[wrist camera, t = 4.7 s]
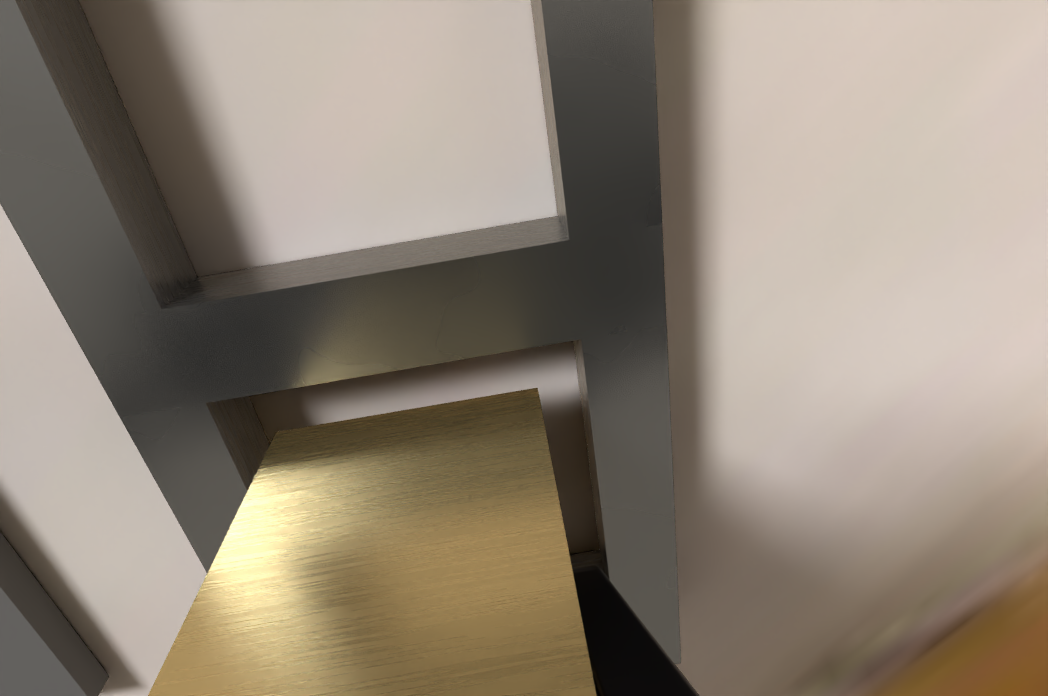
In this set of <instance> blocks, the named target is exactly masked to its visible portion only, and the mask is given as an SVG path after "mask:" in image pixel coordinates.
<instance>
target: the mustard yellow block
mask: <svg viewBox="0 0 1048 696" xmlns="http://www.w3.org/2000/svg"><path fill="white" fill-rule="evenodd" d="M148 696H597V695H596V690H595V685H594V680H593V675H592V669H591V664H590V659H589V654H588V649H587V643H586V638H585V633H584V628H583V622H582V617H581V612H580V607H579V602H578V596H577V591H576V586H575V581H574V576H573V570H572V565H571V560H570V555H569V550H568V544H567V539H566V534H565V529H564V524H563V518H562V513H561V508H560V503H559V497H558V492H557V487H556V482H555V477H554V471H553V466H552V461H551V456H550V451H549V445H548V440H547V435H546V430H545V425H544V419H543V414H542V409H541V404H540V398H539V393H538V388H533V389H527V390H521V391H515V392H509V393H503V394H497V395H492V396H486V397H480V398H474V399H468V400H462V401H456V402H450V403H444V404H438V405H432V406H427V407H421V408H415V409H409V410H403V411H397V412H391V413H385V414H379V415H373V416H367V417H362V418H356V419H350V420H344V421H338V422H332V423H326V424H320V425H314V426H308V427H302V428H297V429H291V430H285V431H279V432H276V434H275V436H274V438H273V440H272V442H271V444H270V446H269V448H268V450H267V452H266V454H265V456H264V458H263V460H262V463H261V465H260V467H259V469H258V471H257V473H256V475H255V477H254V479H253V481H252V483H251V485H250V487H249V489H248V491H247V493H246V495H245V497H244V499H243V502H242V504H241V506H240V508H239V510H238V512H237V514H236V516H235V518H234V520H233V522H232V524H231V526H230V528H229V530H228V532H227V534H226V536H225V539H224V541H223V543H222V545H221V547H220V549H219V551H218V553H217V555H216V557H215V559H214V561H213V563H212V565H211V567H210V569H209V571H208V573H207V576H206V578H205V580H204V582H203V584H202V586H201V588H200V590H199V592H198V594H197V596H196V598H195V600H194V602H193V604H192V606H191V608H190V610H189V612H188V615H187V617H186V619H185V621H184V623H183V625H182V627H181V629H180V631H179V633H178V635H177V637H176V639H175V641H174V643H173V645H172V647H171V649H170V652H169V654H168V656H167V658H166V660H165V662H164V664H163V666H162V668H161V670H160V672H159V674H158V676H157V678H156V680H155V682H154V684H153V686H152V689H151V691H150V693H149V695H148Z"/></svg>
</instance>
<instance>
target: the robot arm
mask: <svg viewBox="0 0 1048 696" xmlns="http://www.w3.org/2000/svg"><path fill="white" fill-rule="evenodd" d="M572 570H573V576H574V581H575V586H576V591H577V596H578V602H579V607H580V612H581V617H582V622H583V628H584V633H585V638H586V643H587V649H588V654H589V659H590V664H591V669H592V675H593V680H594V685H595V690H596V695H597V696H699V694H698V693H697V692H696V691H695V689H694V688H693V687H692V685H691V684H690V683H689V682H688V680H687V679H686V678H685V676H684V675H683V674H682V673H681V671H680V670H679V669H678V667H677V666H676V665H675V664H674V662H673V661H672V660H671V658H670V657H669V656H668V655H667V653H666V652H665V651H664V649H663V648H662V647H661V646H660V644H659V643H658V642H657V640H656V639H655V638H654V637H653V635H652V634H651V633H650V631H649V630H648V629H647V628H646V626H645V625H644V624H643V622H642V621H641V620H640V619H639V617H638V616H637V615H636V613H635V612H634V611H633V610H632V608H631V607H630V606H629V604H628V603H627V602H626V601H625V599H624V598H623V597H622V595H621V594H620V593H619V592H618V590H617V589H616V588H615V586H614V585H613V584H612V583H611V581H610V580H609V579H608V577H607V576H606V575H605V574H604V572H603V571H602V570H601V569H600V568H599V567H598V566H597V565H587V566H581V567H576V568H572Z"/></svg>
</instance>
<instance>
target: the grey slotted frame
mask: <svg viewBox="0 0 1048 696" xmlns="http://www.w3.org/2000/svg"><path fill="white" fill-rule="evenodd" d="M531 6H532V14H533V22H534V30H535V38H536V46H537V54H538V62H539V70H540V78H541V86H542V94H543V102H544V110H545V118H546V126H547V134H548V142H549V150H550V158H551V166H552V174H553V181H554V189H555V197H556V205H557V213H558V216H555V217H549V218H544V219H538V220H532V221H526V222H520V223H514V224H508V225H502V226H496V227H491V228H485V229H479V230H473V231H467V232H461V233H455V234H449V235H443V236H438V237H432V238H426V239H420V240H414V241H408V242H402V243H396V244H391V245H385V246H379V247H373V248H367V249H361V250H355V251H349V252H343V253H338V254H332V255H326V256H320V257H314V258H308V259H302V260H296V261H290V262H285V263H279V264H273V265H267V266H261V267H255V268H249V269H243V270H237V271H232V272H226V273H220V274H214V275H208V276H202V277H197V275H196V273H195V271H194V268H193V266H192V264H191V262H190V259H189V257H188V255H187V252H186V250H185V248H184V245H183V243H182V241H181V238H180V236H179V234H178V231H177V229H176V227H175V224H174V222H173V220H172V217H171V215H170V213H169V210H168V208H167V206H166V203H165V201H164V199H163V196H162V194H161V192H160V190H159V187H158V185H157V183H156V180H155V178H154V176H153V173H152V171H151V169H150V166H149V164H148V162H147V159H146V157H145V155H144V152H143V150H142V148H141V145H140V143H139V141H138V138H137V136H136V134H135V131H134V129H133V127H132V124H131V122H130V120H129V118H128V115H127V113H126V111H125V108H124V106H123V104H122V101H121V99H120V97H119V94H118V92H117V90H116V87H115V85H114V83H113V80H112V78H111V76H110V73H109V71H108V69H107V66H106V64H105V62H104V59H103V57H102V55H101V52H100V50H99V48H98V46H97V43H96V41H95V39H94V36H93V34H92V32H91V29H90V27H89V25H88V22H87V20H86V18H85V15H84V13H83V11H82V8H81V6H80V4H79V1H78V0H0V204H1V206H2V207H3V209H4V211H5V213H6V215H7V216H8V218H9V220H10V222H11V224H12V225H13V227H14V229H15V231H16V232H17V234H18V236H19V238H20V240H21V241H22V243H23V245H24V247H25V249H26V250H27V252H28V254H29V256H30V257H31V259H32V261H33V263H34V265H35V266H36V268H37V270H38V272H39V274H40V275H41V277H42V279H43V281H44V282H45V284H46V286H47V288H48V290H49V291H50V293H51V295H52V297H53V299H54V300H55V302H56V304H57V306H58V307H59V309H60V311H61V313H62V315H63V316H64V318H65V320H66V322H67V324H68V325H69V327H70V329H71V331H72V333H73V334H74V336H75V338H76V340H77V341H78V343H79V345H80V347H81V349H82V350H83V352H84V354H85V356H86V358H87V359H88V361H89V363H90V365H91V366H92V368H93V370H94V372H95V374H96V375H97V377H98V379H99V381H100V383H101V384H102V386H103V388H104V390H105V391H106V393H107V395H108V397H109V399H110V400H111V402H112V404H113V406H114V408H115V409H116V411H117V413H118V415H119V416H120V418H121V420H122V422H123V424H124V425H125V427H126V429H127V431H128V433H129V434H130V436H131V438H132V440H133V442H134V443H135V445H136V447H137V449H138V450H139V452H140V454H141V456H142V458H143V459H144V461H145V463H146V465H147V467H148V468H149V470H150V472H151V474H152V475H153V477H154V479H155V481H156V483H157V484H158V486H159V488H160V490H161V492H162V493H163V495H164V497H165V499H166V500H167V502H168V504H169V506H170V508H171V509H172V511H173V513H174V515H175V517H176V518H177V520H178V522H179V524H180V526H181V527H182V529H183V531H184V533H185V534H186V536H187V538H188V540H189V542H190V543H191V545H192V547H193V549H194V551H195V552H196V554H197V556H198V558H199V559H200V561H201V563H202V565H203V567H204V568H205V570H206V572H207V573H208V571H209V569H210V567H211V565H212V563H213V561H214V559H215V557H216V555H217V553H218V551H219V549H220V547H221V545H222V543H223V541H224V539H225V536H226V534H227V532H228V530H229V528H230V526H231V524H232V522H233V520H234V518H235V516H236V514H237V512H238V510H239V508H240V506H241V504H242V502H243V499H244V497H245V495H246V493H247V491H248V489H249V487H250V485H251V483H252V481H253V479H254V477H255V475H256V473H257V471H258V469H259V467H260V465H261V463H262V460H263V458H264V456H265V454H266V452H267V450H268V448H269V446H270V445H269V443H268V440H267V438H266V436H265V433H264V431H263V429H262V426H261V424H260V422H259V419H258V417H257V415H256V413H255V410H254V408H253V406H252V403H251V401H250V399H249V396H251V395H257V394H262V393H268V392H274V391H280V390H286V389H292V388H298V387H304V386H309V385H315V384H321V383H327V382H333V381H339V380H345V379H351V378H356V377H362V376H368V375H374V374H380V373H386V372H392V371H398V370H404V369H409V368H415V367H421V366H427V365H433V364H439V363H445V362H451V361H456V360H462V359H468V358H474V357H480V356H486V355H492V354H498V353H503V352H509V351H515V350H521V349H527V348H533V347H539V346H545V345H550V344H556V343H562V342H568V341H574V349H575V357H576V365H577V373H578V381H579V389H580V397H581V405H582V413H583V421H584V429H585V437H586V445H587V453H588V461H589V469H590V477H591V485H592V493H593V501H594V509H595V517H596V525H597V533H598V541H599V549H600V550H596V551H590V552H584V553H579V554H573V555H570V560H571V565H572V568H576V567H581V566H587V565H597V566H598V567H599V568H600V569H601V570H602V571H603V572H604V574H605V575H606V576H607V577H608V579H609V580H610V581H611V583H612V584H613V585H614V586H615V588H616V589H617V590H618V592H619V593H620V594H621V595H622V597H623V598H624V599H625V601H626V602H627V603H628V604H629V606H630V607H631V608H632V610H633V611H634V612H635V613H636V615H637V616H638V617H639V619H640V620H641V621H642V622H643V624H644V625H645V626H646V628H647V629H648V630H649V631H650V633H651V634H652V635H653V637H654V638H655V639H656V640H657V642H658V643H659V644H660V646H661V647H662V648H663V649H664V651H665V652H666V653H667V655H668V656H669V657H670V658H671V660H672V661H673V662H674V664H679V663H681V649H680V626H679V603H678V580H677V557H676V534H675V511H674V487H673V464H672V441H671V418H670V395H669V372H668V349H667V326H666V303H665V279H664V256H663V233H662V210H661V187H660V164H659V141H658V118H657V95H656V71H655V48H654V25H653V2H652V0H531Z"/></svg>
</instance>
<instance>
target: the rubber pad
mask: <svg viewBox="0 0 1048 696" xmlns="http://www.w3.org/2000/svg"><path fill="white" fill-rule="evenodd" d="M108 677H109V676H108V674H107V673H106V672H105V670H104V669H103V668H102V666H101V665H100V664H99V662H98V661H97V660H96V658H95V657H94V656H93V654H92V653H91V652H90V650H89V649H88V648H87V646H86V645H85V644H84V642H83V641H82V640H81V638H80V637H79V636H78V634H77V633H76V632H75V630H74V629H73V628H72V626H71V625H70V624H69V622H68V621H67V620H66V618H65V617H64V616H63V615H62V613H61V612H60V611H59V609H58V608H57V607H56V605H55V604H54V603H53V601H52V600H51V599H50V597H49V596H48V595H47V593H46V592H45V591H44V589H43V588H42V587H41V585H40V584H39V583H38V581H37V580H36V579H35V577H34V576H33V575H32V573H31V572H30V571H29V569H28V568H27V567H26V565H25V564H24V563H23V561H22V560H21V559H20V557H19V556H18V555H17V553H16V552H15V551H14V549H13V548H12V547H11V545H10V544H9V543H8V541H7V540H6V539H5V537H4V536H3V535H2V533H1V532H0V696H98V695H99V693H100V692H101V690H102V688H103V686H104V685H105V683H106V681H107V679H108Z"/></svg>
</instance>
